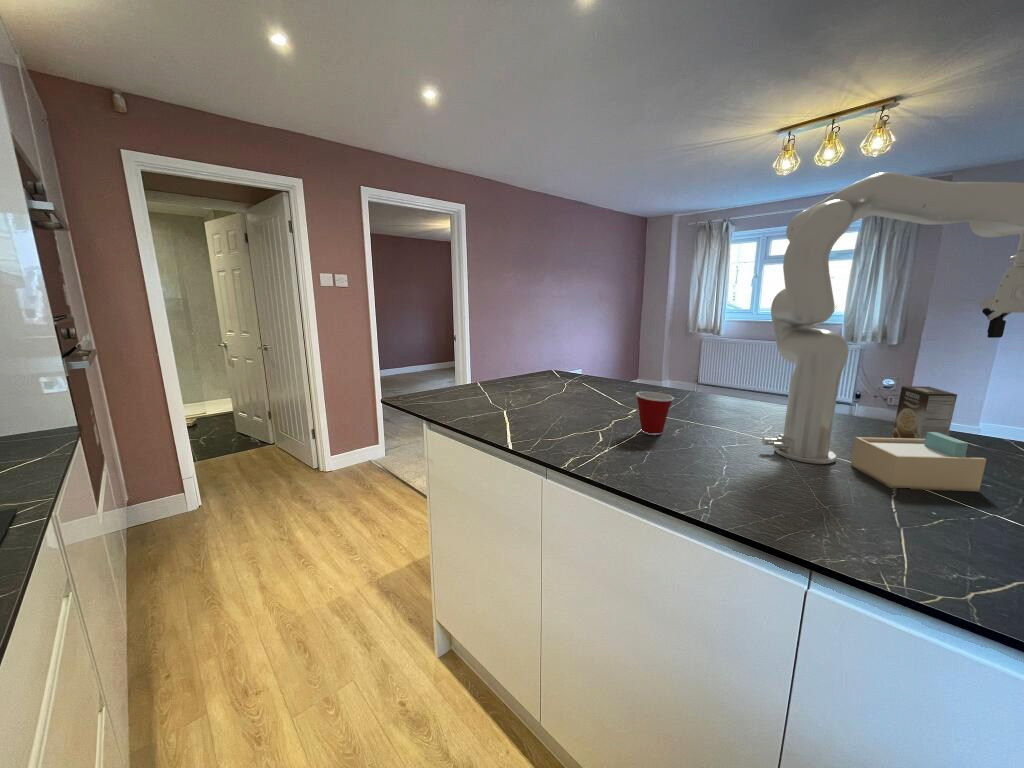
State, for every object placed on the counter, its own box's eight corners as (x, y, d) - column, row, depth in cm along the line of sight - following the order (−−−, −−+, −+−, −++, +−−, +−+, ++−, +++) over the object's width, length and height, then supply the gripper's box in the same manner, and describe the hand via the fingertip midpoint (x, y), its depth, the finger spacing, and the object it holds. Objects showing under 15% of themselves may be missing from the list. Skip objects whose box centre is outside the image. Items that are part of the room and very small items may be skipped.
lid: (897, 461, 83) (900, 443, 82) (862, 444, 92) (864, 428, 91) (974, 463, 81) (978, 445, 80) (930, 446, 90) (933, 430, 90)
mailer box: (890, 488, 83) (896, 456, 81) (850, 465, 94) (855, 437, 93) (978, 491, 81) (986, 459, 79) (926, 467, 92) (932, 438, 91)
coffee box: (889, 443, 108) (899, 385, 105) (917, 444, 107) (928, 386, 104) (915, 455, 99) (927, 393, 96) (945, 457, 98) (959, 393, 95)
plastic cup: (677, 438, 115) (680, 398, 112) (640, 439, 115) (642, 398, 113) (664, 427, 125) (666, 390, 123) (629, 427, 126) (631, 390, 123)
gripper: (976, 262, 93) (960, 336, 96) (1090, 254, 76) (1066, 343, 79) (1004, 263, 94) (987, 335, 97) (1122, 254, 77) (1097, 342, 80)
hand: (1022, 339), depth 88 cm, fingers open, 9 cm apart
